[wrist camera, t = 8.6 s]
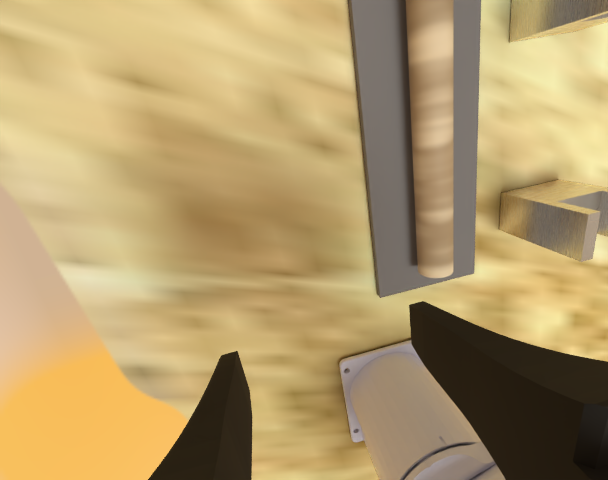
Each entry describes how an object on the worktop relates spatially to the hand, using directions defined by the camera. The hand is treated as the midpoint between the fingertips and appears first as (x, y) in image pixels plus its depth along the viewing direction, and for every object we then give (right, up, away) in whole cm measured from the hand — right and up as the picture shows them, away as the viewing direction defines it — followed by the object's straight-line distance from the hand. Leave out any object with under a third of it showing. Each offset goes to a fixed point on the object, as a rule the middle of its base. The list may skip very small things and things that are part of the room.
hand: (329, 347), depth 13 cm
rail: (+7, +10, +7) cm, 14 cm away
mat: (+7, +11, +9) cm, 16 cm away
